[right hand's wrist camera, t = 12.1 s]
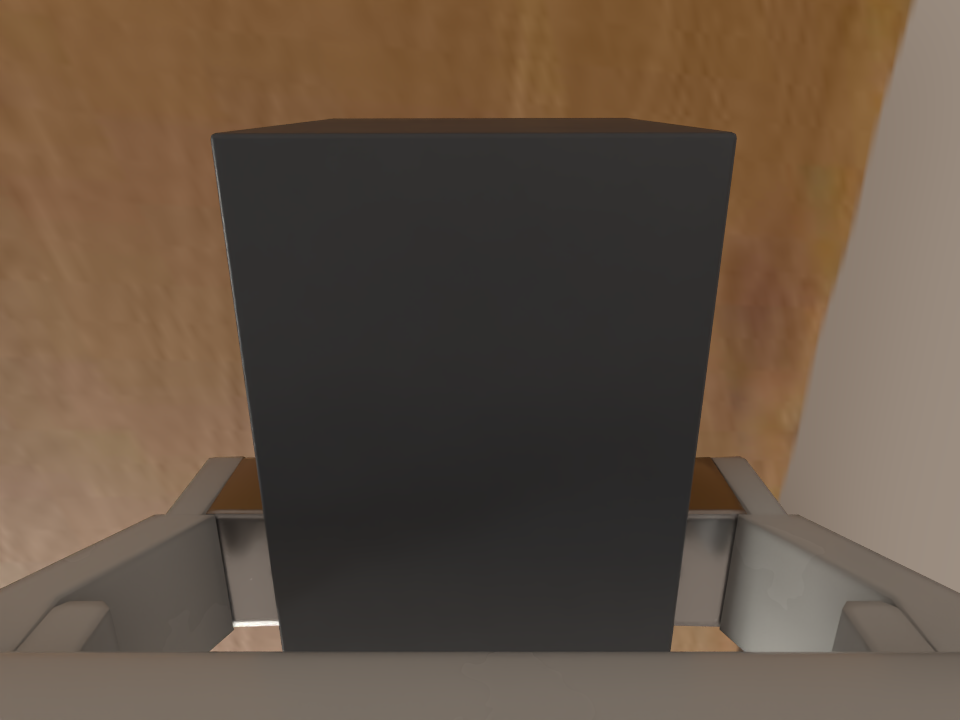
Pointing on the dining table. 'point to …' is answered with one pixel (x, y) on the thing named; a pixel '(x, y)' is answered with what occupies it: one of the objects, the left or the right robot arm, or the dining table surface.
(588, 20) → the dining table surface
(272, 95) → the dining table surface
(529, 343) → the post
